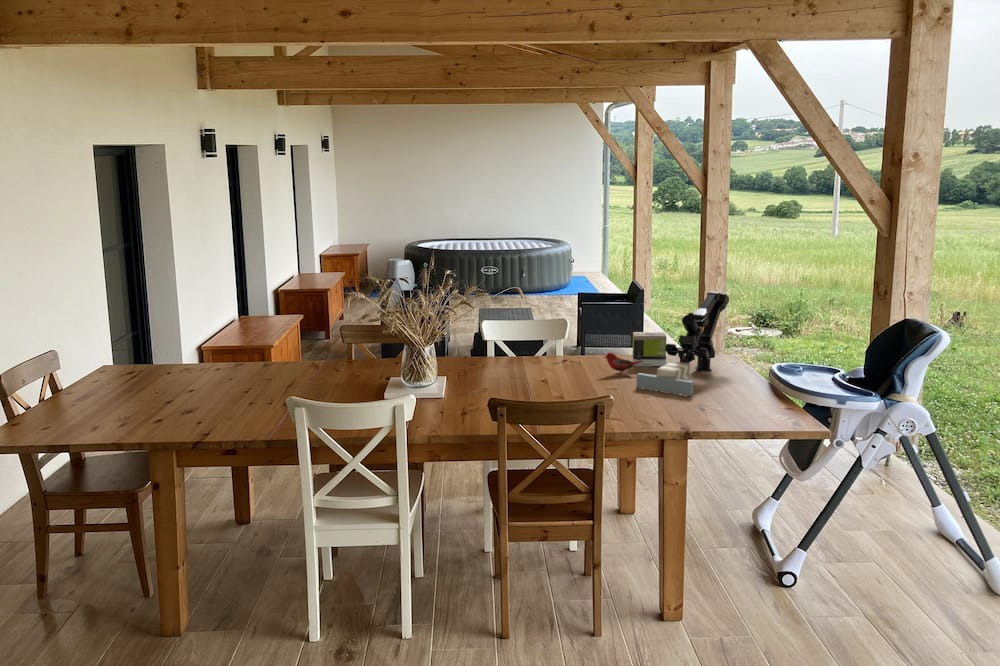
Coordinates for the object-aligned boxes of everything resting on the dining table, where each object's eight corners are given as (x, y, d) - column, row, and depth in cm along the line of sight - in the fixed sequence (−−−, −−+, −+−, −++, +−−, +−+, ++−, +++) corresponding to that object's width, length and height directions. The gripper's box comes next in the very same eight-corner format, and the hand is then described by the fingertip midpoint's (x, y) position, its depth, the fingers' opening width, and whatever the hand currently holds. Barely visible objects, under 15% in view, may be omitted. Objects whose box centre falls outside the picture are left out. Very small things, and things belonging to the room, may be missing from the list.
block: (671, 381, 379) (672, 361, 377) (689, 384, 375) (690, 363, 373) (656, 389, 366) (657, 368, 364) (674, 392, 362) (675, 371, 360)
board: (639, 386, 370) (639, 372, 369) (692, 395, 357) (693, 381, 356) (636, 388, 368) (636, 374, 367) (690, 396, 355) (691, 382, 354)
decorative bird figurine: (603, 373, 392) (603, 351, 389) (642, 373, 392) (643, 351, 390) (604, 375, 389) (604, 353, 387) (643, 374, 389) (644, 353, 387)
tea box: (664, 362, 412) (665, 331, 409) (665, 367, 403) (667, 336, 399) (631, 361, 414) (632, 331, 411) (632, 366, 404) (633, 335, 401)
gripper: (667, 325, 381) (656, 355, 375) (708, 330, 371) (697, 361, 365) (673, 339, 390) (662, 368, 383) (714, 344, 379) (703, 375, 373)
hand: (681, 368), depth 376 cm, fingers closed, pressing on block
